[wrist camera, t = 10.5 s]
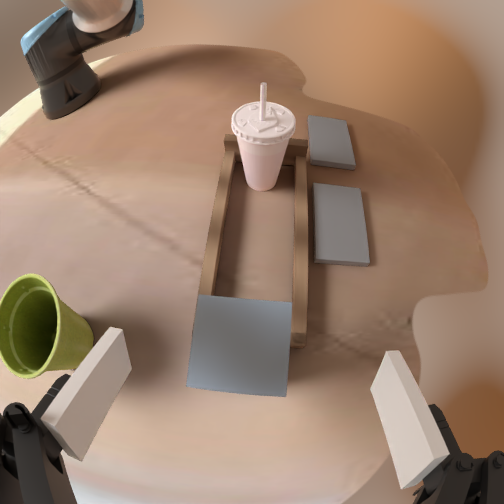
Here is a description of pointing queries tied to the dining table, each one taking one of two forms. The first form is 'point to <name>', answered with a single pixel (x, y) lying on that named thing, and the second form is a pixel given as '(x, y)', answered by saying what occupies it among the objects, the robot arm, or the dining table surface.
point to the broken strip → (336, 198)
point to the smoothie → (262, 139)
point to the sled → (249, 303)
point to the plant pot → (40, 329)
